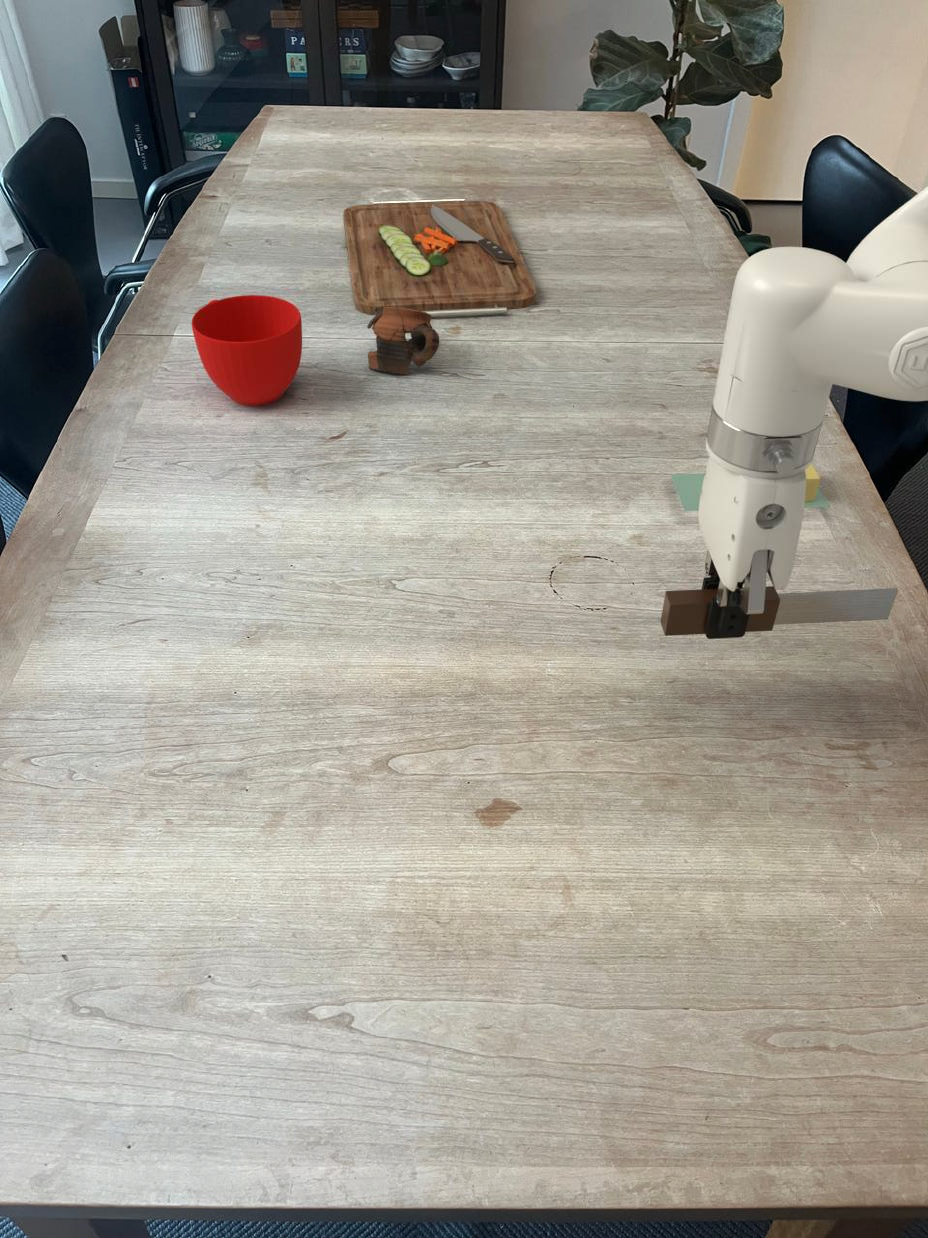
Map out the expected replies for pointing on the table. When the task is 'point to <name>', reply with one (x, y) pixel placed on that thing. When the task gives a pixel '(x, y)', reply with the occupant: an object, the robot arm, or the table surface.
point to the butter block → (811, 483)
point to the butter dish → (692, 486)
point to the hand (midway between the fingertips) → (720, 624)
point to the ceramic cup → (249, 346)
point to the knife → (778, 608)
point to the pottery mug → (401, 339)
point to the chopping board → (435, 258)
